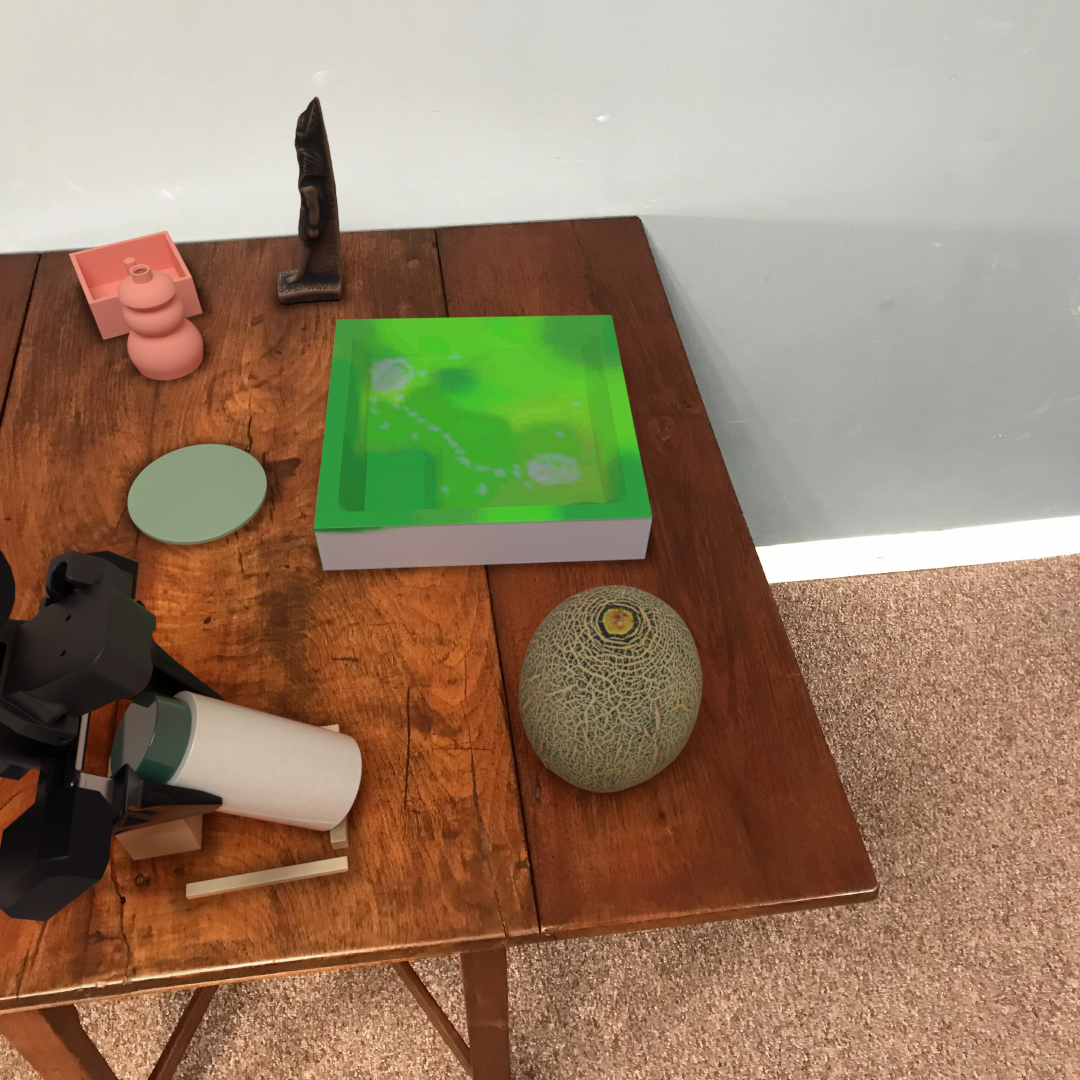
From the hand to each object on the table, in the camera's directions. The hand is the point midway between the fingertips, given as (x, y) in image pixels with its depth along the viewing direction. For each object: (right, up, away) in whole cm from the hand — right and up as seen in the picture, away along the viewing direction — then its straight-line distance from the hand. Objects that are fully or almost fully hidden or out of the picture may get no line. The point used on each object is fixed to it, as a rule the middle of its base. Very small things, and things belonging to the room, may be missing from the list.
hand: (220, 754), depth 54 cm
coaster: (-10, +16, +23) cm, 30 cm away
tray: (+13, +20, +28) cm, 36 cm away
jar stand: (-1, -5, +6) cm, 8 cm away
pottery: (-19, +33, +37) cm, 53 cm away
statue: (-5, +37, +42) cm, 56 cm away
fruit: (+22, -2, +10) cm, 24 cm away
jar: (+1, -5, +6) cm, 8 cm away
